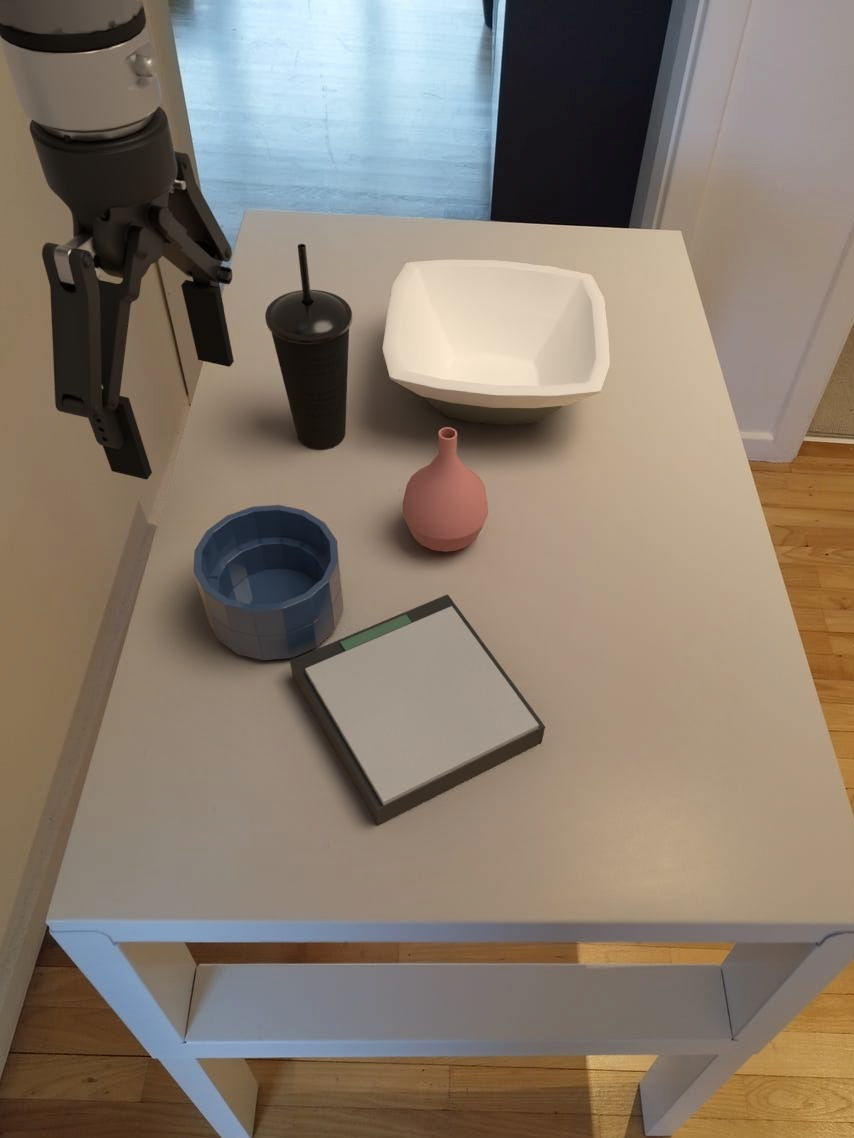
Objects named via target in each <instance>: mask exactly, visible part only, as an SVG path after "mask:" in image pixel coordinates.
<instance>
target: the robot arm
mask: <svg viewBox="0 0 854 1138" xmlns="http://www.w3.org/2000/svg"><path fill="white" fill-rule="evenodd" d="M0 44H1V47H2V50H3V55H4V57H5V60H6V63H7V67H8V69H9V73H10V76H11V79H12V82H13V85H14V89H15V92H16V95H17V98H18V102H19V105H20V108H21V109H22V111H23V112H24V114H25V116H26V117H28V118H29V119H30V123H29V132H30V135H31V138H32V142H33V145H34V147H35V151H36V153H37V157H38V160H39V163H40V166H41V169H42V172H43V175H44V179H45V181H46V184H47V185H48V187H49V188H50V190H51V191H52V193H54V194H55V195H56V196H57V197H58V198H59V199H60V200H61V202H63V203H64V204H65V206H66V207H67V208H68V209H69V211H70V213H71V217H72V235H73V237H72V238H71V239H70V240H68V241H67V242H66V243H64V244H58V243H53V242H49V241H48V242H46V243H44V244H43V246H42V249H41V256H42V261H43V264H44V268H45V272H46V276H47V280H48V284H49V290H50V316H51V317H50V318H51V336H52V337H51V338H52V340H51V341H52V358H53V359H52V360H53V361H52V362H53V383H54V403H55V408H56V410H57V411H58V412H60V413H64V414H69V415H73V416H78V417H82V418H86V419H88V422H89V425H90V427H91V429H92V432H93V434H94V435H93V436H94V437H95V440H96V442H97V444H99V445H100V446H102V448H103V451H104V453H105V457H106V460H107V463H108V464H109V468H110V471H111V472H113V473H116V474H117V473H118V474H121V475H126V476H129V477H134V478H137V479H138V478H139V479H143V480H148V479H149V478H150V476H152V474H153V471H152V468H151V464H150V461H149V459H148V455H147V452H146V449H145V445H144V442H143V439H142V436H141V432H140V429H139V426H138V423H137V420H136V417H135V413H134V410H133V408H132V407H133V406H132V404H131V401H130V397H126V396H123V395H121V390H122V389H121V388H122V380H123V372H124V365H125V355H126V347H127V341H128V340H127V339H128V330H129V324H130V323H129V322H130V313H131V306H132V303H133V302H135V301H137V300H138V299H139V297H140V293H141V285H142V279H143V277H145V276H146V274H147V273H148V270H149V269H150V267H151V265H153V264H155V263H157V262H158V261H160V259H161V258H162V257H163V258H165V259H166V261H169V263H171V264H172V265H173V266H174V267H176V268H177V269H178V270H179V271H181V273H183V274H184V275H186V276H187V277H189V278H192V280H189V279H185V280H184V281H183V282H182V283H181V285H180V286H181V287H180V288H181V291H182V296H183V299H184V304H185V308H186V313H187V318H188V322H189V325H190V330H191V334H192V339H193V343H194V347H195V352H196V356H197V360H198V361H201V362H204V363H205V362H206V363H211V364H214V365H218V366H219V365H220V366H224V367H229V368H230V367H231V366H232V365H233V364H234V362H235V360H234V355H233V350H232V345H231V339H230V334H229V328H228V324H227V319H226V314H225V306H224V301H223V296H222V291H221V286H220V284H223V285H226V286H227V285H228V286H229V285H230V284H231V283H232V280H233V270H232V267H228V266H223V265H222V264H223V262H225V263H229V262H230V261H231V259H232V256H233V250H232V247H231V244H230V243H229V240H228V239H227V237H226V235H225V233H224V231H223V230H222V228H221V226H220V224H219V222H218V221H217V219H216V217H215V215H214V213H213V211H212V210H211V207H210V205H209V204H208V202H207V200H206V198H205V197H204V195H203V193H202V192H201V189H200V187H199V186H198V184H197V182H196V178H195V174H194V170H193V166H192V163H191V162H192V161H191V158H190V156H189V154H188V153H186V152H181V151H175V149H174V144H173V139H172V138H173V137H172V134H171V129H170V124H169V119H168V115H167V113H166V112H165V111H164V109H163V108H162V107H161V106H160V105H161V103H162V99H163V96H162V95H163V94H162V90H161V85H160V80H159V75H158V71H159V68H158V67H159V66H158V62H157V60H156V59H155V57H154V52H153V49H152V44H151V40H150V35H149V31H148V26H147V18H146V12H145V8H144V1H143V0H0ZM101 271H103V272H104V273H105V274H106V275H108V276H110V277H114V278H118V279H122V281H121V282H119V283H115V282H111V281H106V280H101V279H99V278H100V277H101V274H102V272H101Z"/></svg>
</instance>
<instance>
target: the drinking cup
mask: <svg viewBox="0 0 854 1138" xmlns="http://www.w3.org/2000/svg"><path fill="white" fill-rule="evenodd" d="M297 254H298V263H299V271H300V282H301V289H300V290H293V291H290V292H287V293H284V294H282V295H280V296H278V297H276V298H275V299H274V300H272V301H271V303H269V305H268V306H267V308H266V310H265V312H264V313H265V314H264V319H265V324H266V326H267V328H268V330H269V331H270V332H271V336H272V340H273V344H274V349H275V354H276V356H277V357H276V358H277V361H278V364H279V369H280V373H281V377H282V380H283V381H282V382H283V385H284V389H285V393H286V397H287V400H288V406H289V409H290V413H291V417H292V421H293V425H294V429H295V434H296V437H297V439H298V441H299V443H300V444H301V445H303V446H305V447H307V448H309V449H312V450H328V449H331V448H334V447H336V446H338V445H340V444H341V443H342V442H343V440H344V439H345V437H346V429H347V428H346V426H347V399H348V398H347V396H348V371H349V368H348V367H349V346H350V345H349V343H350V327H351V325H352V322H353V311H352V308H351V306H350V304H348V302H347V301H346V300H345V299H344V298H342V297H340V296H339V295H337V294H335V293H333V292H329V291H325V290H321V289H320V290H319V289H311V284H310V275H309V274H310V273H309V265H308V255H307V246H306V244H305V243H299V244H298V245H297Z"/></svg>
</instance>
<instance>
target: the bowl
mask: <svg viewBox="0 0 854 1138" xmlns="http://www.w3.org/2000/svg"><path fill="white" fill-rule="evenodd" d="M382 353H383V358H384V361H385V364H386V368H387V372H388V375H389V376H388V377H389V379H390V380H391V381H393V382H395V383H397V384H398V385H400V386H401V387H404V388H405V389H407V390H409V391H411V392H413V393H414V394H416V395H417V396H420V397H422V398H423V399H424V400H425V401H427V402H428V403H429V404H430V405H432V406H433V407H434V408H435V409H436V410H437V411H438V412H439V413H441V414H442V415H443V416H444V417H446V418H449V419H453V420H459V421H463V422H469V423H476V424H477V423H478V424H484V425H485V424H486V425H526V424H533V423H538V422H540V421H542V420H544V419H545V418H546V417H548V416H550V415H551V414H553V413H555V412H556V411H558V410H560V409H561V408H563V407H564V406H568V405H571V404H574V403H576V402H579V401H581V400H584V399H586V398H590V397H593V396H595V395H597V394H600V393H601V392H602V389H603V387H604V384H605V381H606V377H607V374H608V371H609V368H610V366H611V357H610V343H609V329H608V321H607V312H606V303H605V297H604V295H603V294H602V292H601V290H600V288H599V285H598V284H597V282H596V280H595V278H594V277H593V275H591V274H590V273H585V272H580V271H576V270H570V269H565V268H561V267H555V266H553V265H551V266H550V265H544V264H543V265H542V264H533V263H524V262H518V261H517V262H516V261H510V260H509V261H507V260H498V259H495V260H494V259H450V258H449V259H448V258H447V259H435V260H420V261H409V262H406V263H405V265H403V267H402V268H401V271H400V272H399V274H398V275H397V277H396V278H395V280H394V281H393V283H392V286H391V292H390V297H389V302H388V309H387V313H386V321H385V329H384V336H383V344H382Z"/></svg>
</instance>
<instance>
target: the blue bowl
mask: <svg viewBox="0 0 854 1138" xmlns="http://www.w3.org/2000/svg"><path fill="white" fill-rule="evenodd" d="M193 554H194V555H193V575H194V577H195V581H196V584H197V587H198V591H199V594H200V597H201V602H202V604H203V608H204V611H205V615H206V618H207V622H208V624H209V626H210V627H211V630H212V631H213V633H214V635H215V638H216V639H217V640H218V642H220V643H221V644H223V645H224V646H226V647H227V648H228V649H229V650H232V651H233V652H234V653H236V654H237V655H239V656H242V657H243V656H244V657H248V658H253V659H255V660H261V661H268V660H269V661H271V660H281V659H283V660H284V659H291V658H292V659H293V658H296V657H298V656H300V655H303V654H305V653H308V652H310V651H311V650H315V649H316V648H318V647H319V645H321V644H322V643H323V642H324V641H325V640H326V639H327V638H328V637H330V636H331V634H333V633H334V632H335V630H336V629H337V626H338V624H339V622H340V619H341V618H342V615H343V613H344V597H343V587H342V577H341V576H342V575H341V568H340V567H341V566H340V556H339V546H338V540H337V539H336V537H335V535H334V534H333V532H332V531H331V529H330V528H329V527H328V525H327V523H325V521H323V520H321V519H320V518H318V517H316V516H314V515H313V514H311V513H310V512H308V511H307V510H304V509H299V508H295V507H290V506H286V505H281V504H271V505H257V506H250V507H247V508H244V509H241V510H238V511H236V512H233V513H230V514H227V515H226V516H224V517H223V518H222V519H220V520H219V521H217V522H216V523H215V524H213V525H212V526H211V527H210V528H208V529H207V530H206V531H205V532H204V534H203V536H202V537H201V539H200V541H199V542H198V544H197V545H196V548H195V549H194V553H193Z"/></svg>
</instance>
